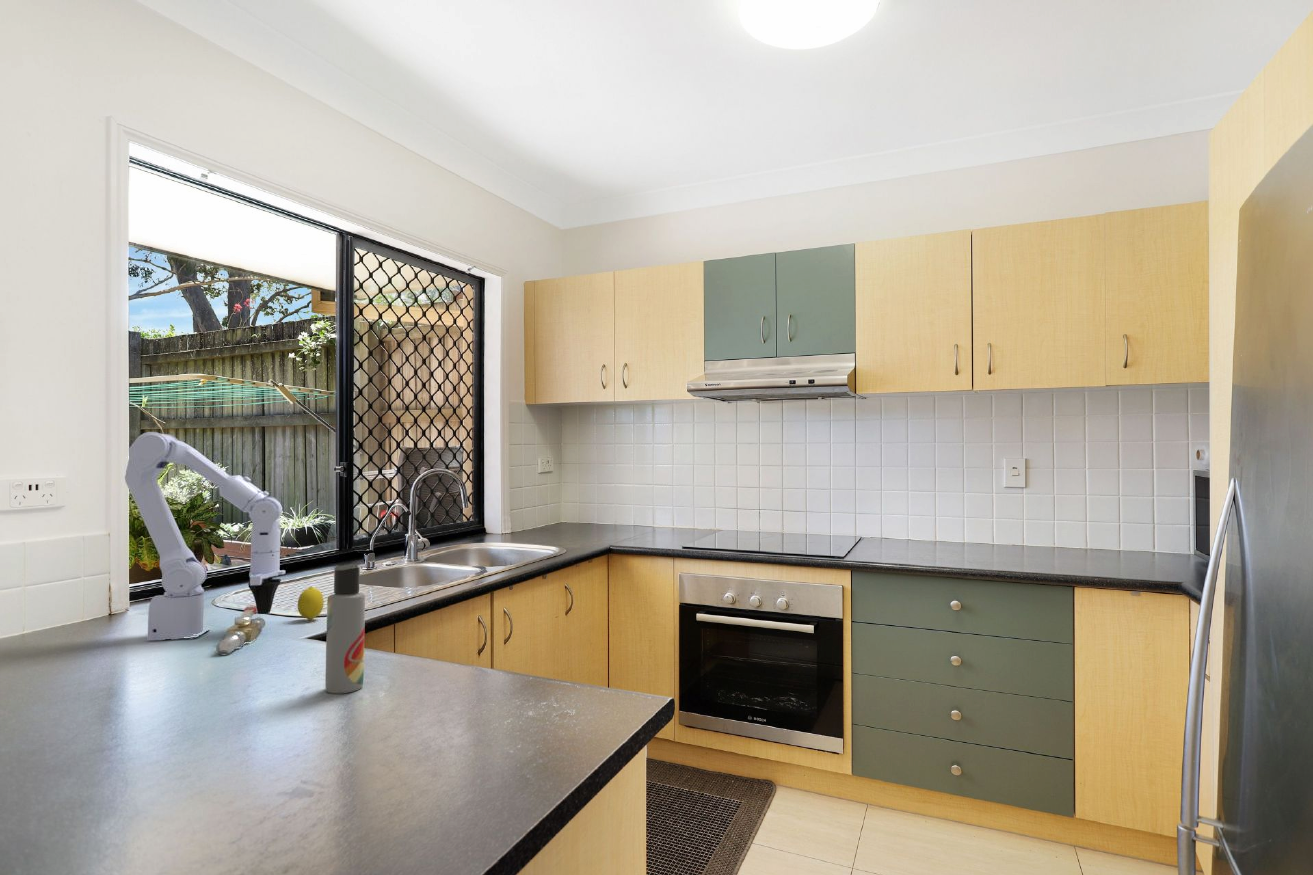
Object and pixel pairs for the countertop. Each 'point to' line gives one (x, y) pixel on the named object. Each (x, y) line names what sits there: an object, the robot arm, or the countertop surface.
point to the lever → (246, 616)
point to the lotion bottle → (345, 632)
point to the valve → (240, 635)
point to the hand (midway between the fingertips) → (264, 613)
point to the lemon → (310, 603)
